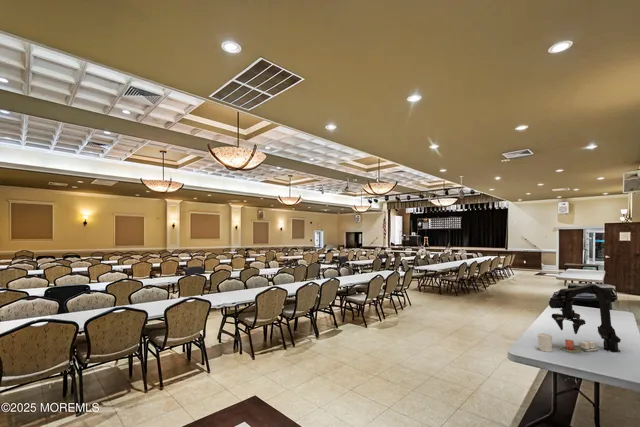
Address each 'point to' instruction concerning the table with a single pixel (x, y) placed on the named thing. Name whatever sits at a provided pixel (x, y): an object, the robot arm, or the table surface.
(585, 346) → the toggle
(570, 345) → the cap
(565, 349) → the frame
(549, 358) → the table surface
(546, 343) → the white cup
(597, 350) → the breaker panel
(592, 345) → the toggle
